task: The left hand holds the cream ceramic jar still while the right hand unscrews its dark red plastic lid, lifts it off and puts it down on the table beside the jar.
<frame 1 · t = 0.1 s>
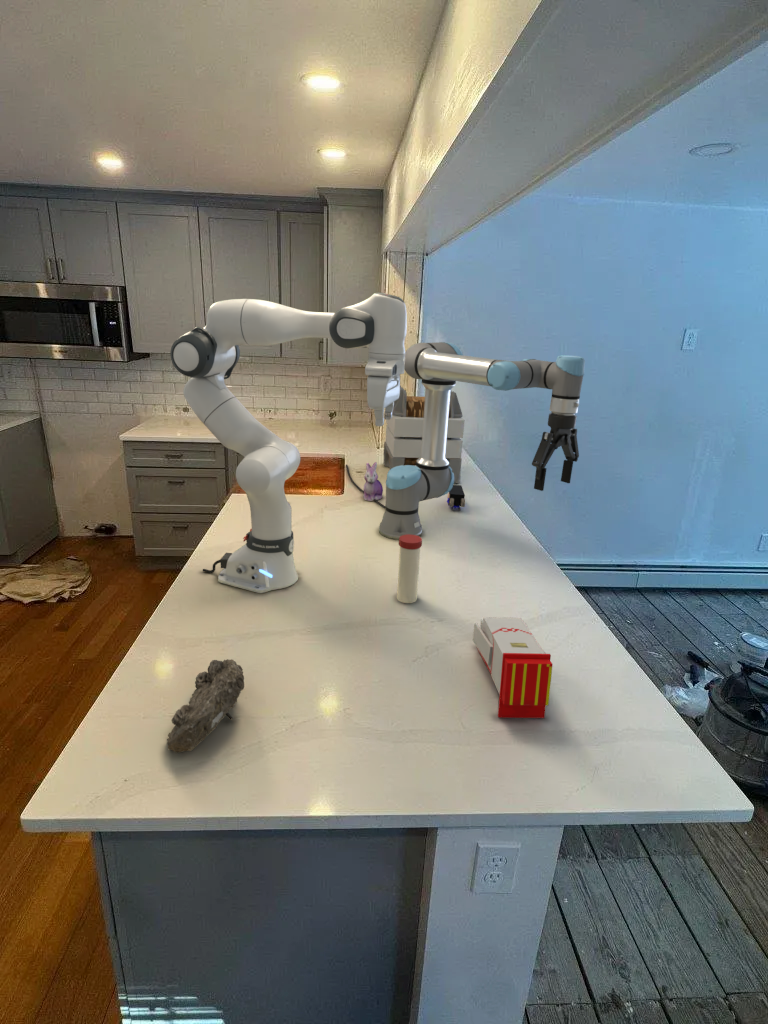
left hand: (383, 422, 141), 48 cm above the counter, tool pointing down, fingers open, 8 cm apart
right hand: (552, 485, 166), 28 cm above the counter, tool pointing down, fingers open, 13 cm apart
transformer: (419, 473, 275), on the counter
jar: (406, 598, 156), on the counter
lid: (410, 539, 150), point 17 cm above the counter, screwed on, not yet turned
fossil: (212, 717, 108), on the counter
toy: (504, 676, 124), on the counter
figurine character: (454, 506, 230), on the counter
figurine: (372, 498, 236), on the counter
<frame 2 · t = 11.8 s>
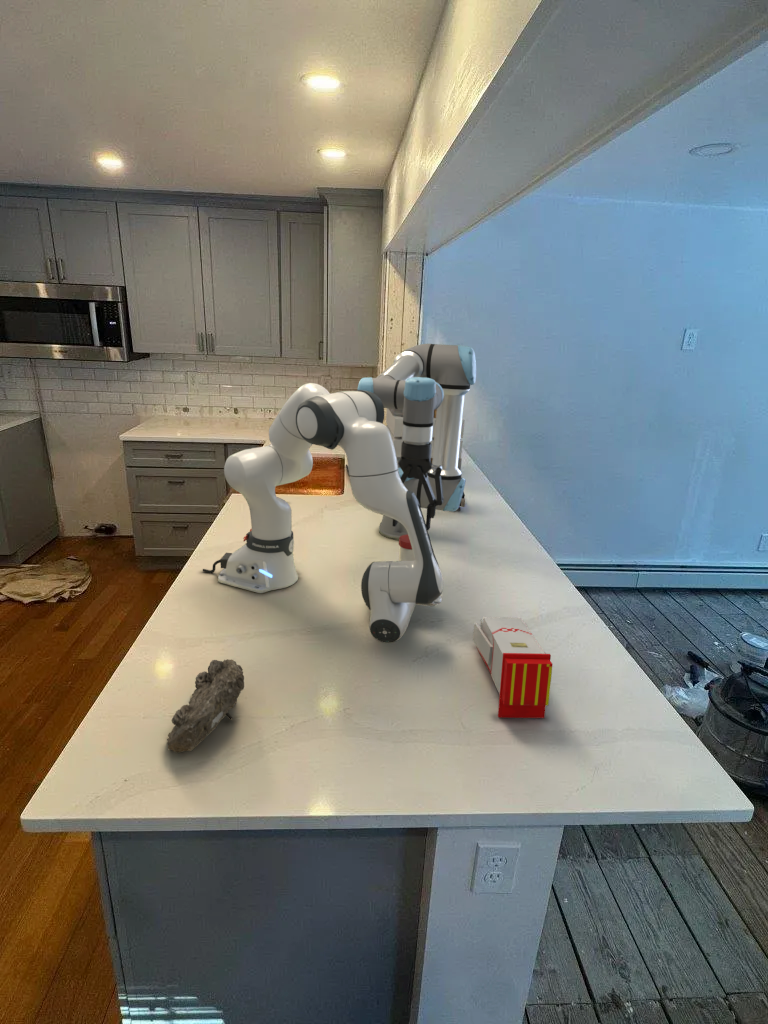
left hand: (408, 575, 154), 6 cm above the counter, tool horizontal, fingers closed on jar, 5 cm apart
right hand: (411, 526, 149), 21 cm above the counter, tool pointing down, fingers open, 8 cm apart
jar: (406, 598, 156), on the counter, touching left hand
everything else where it was.
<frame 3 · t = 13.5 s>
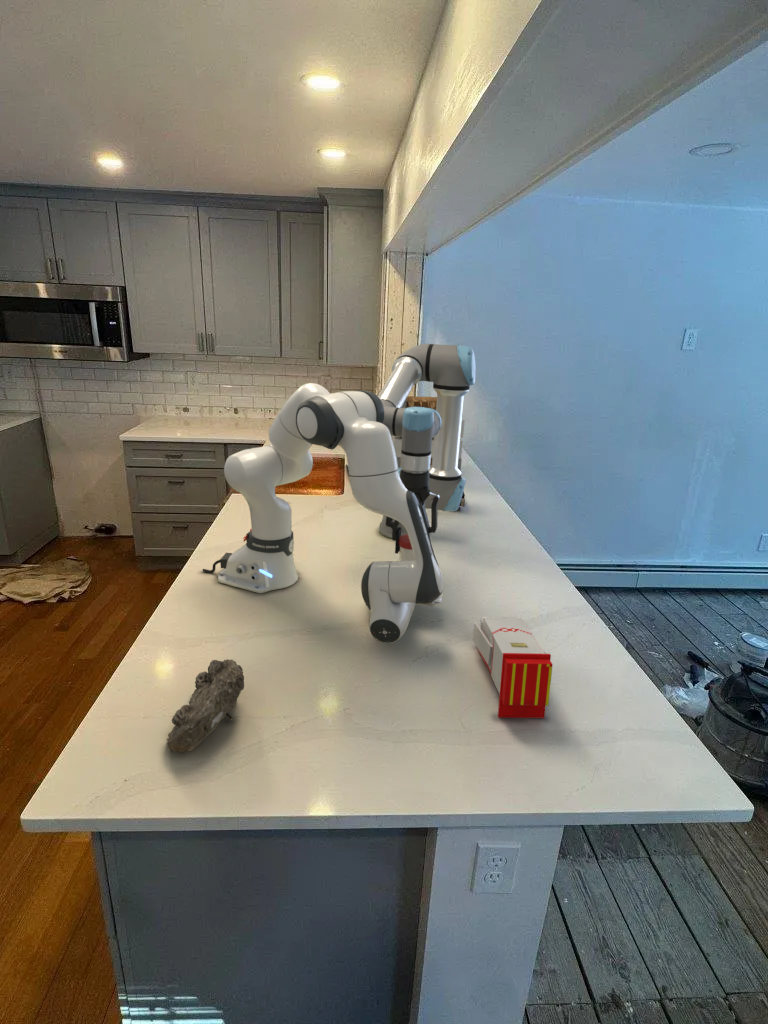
left hand: (408, 575, 154), 6 cm above the counter, tool horizontal, fingers closed on jar, 5 cm apart
right hand: (409, 553, 151), 14 cm above the counter, tool pointing down, fingers closed on lid, 6 cm apart
jar: (406, 598, 156), on the counter, touching left hand
lid: (410, 539, 150), point 17 cm above the counter, screwed on, not yet turned, touching right hand
everything else where it was.
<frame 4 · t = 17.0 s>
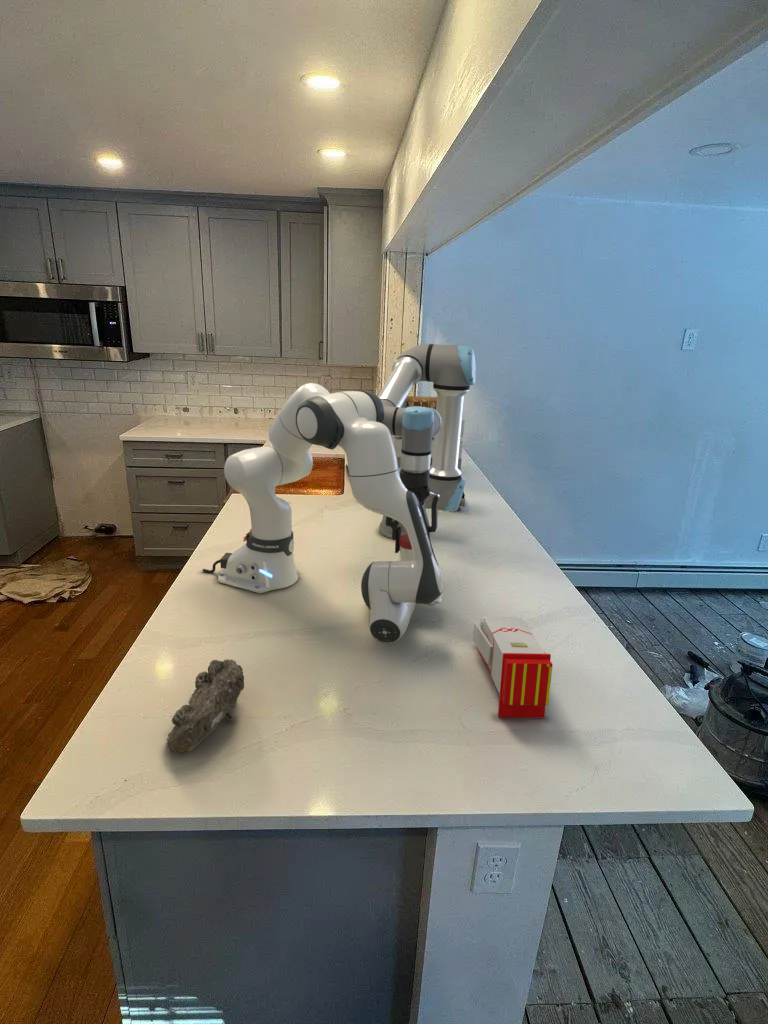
left hand: (408, 575, 154), 6 cm above the counter, tool horizontal, fingers closed on jar, 5 cm apart
right hand: (409, 552, 151), 14 cm above the counter, tool pointing down, fingers closed on lid, 6 cm apart
jar: (406, 598, 156), on the counter, touching left hand
lid: (410, 539, 150), point 18 cm above the counter, turned 118° so far, risen 0.1 cm, still on its thread, touching right hand
everything else where it was.
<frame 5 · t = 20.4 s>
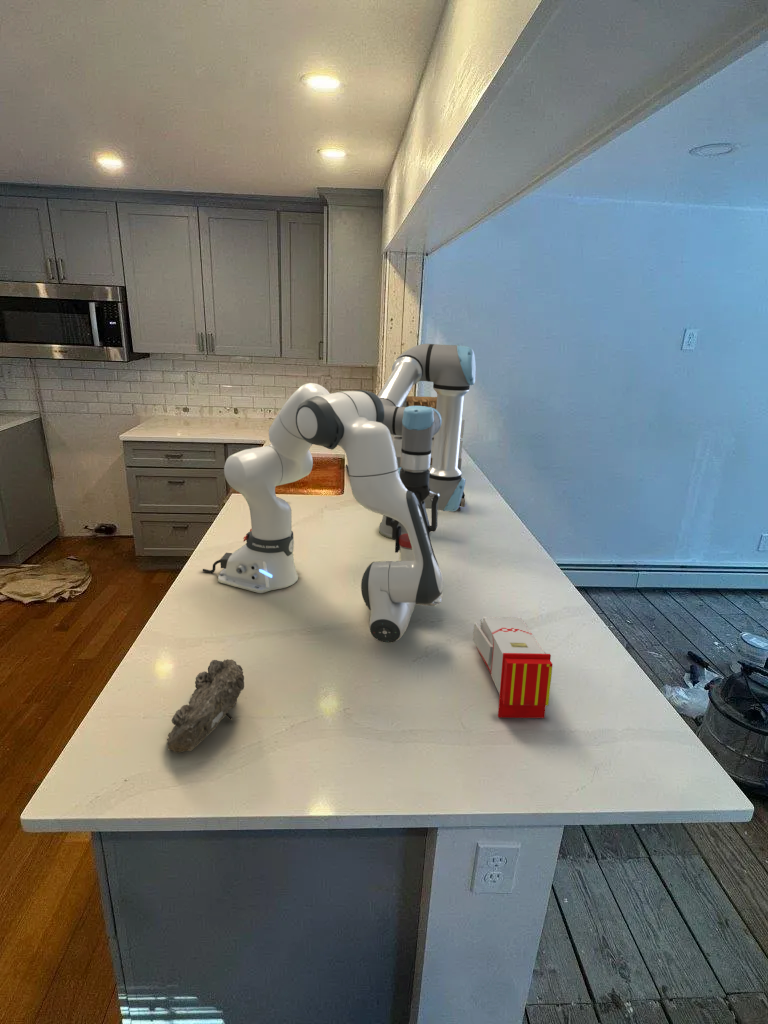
left hand: (408, 575, 154), 6 cm above the counter, tool horizontal, fingers closed on jar, 5 cm apart
right hand: (409, 552, 151), 14 cm above the counter, tool pointing down, fingers closed on lid, 6 cm apart
jar: (406, 598, 156), on the counter, touching left hand
lid: (410, 538, 150), point 18 cm above the counter, turned 236° so far, risen 0.3 cm, still on its thread, touching right hand
everything else where it was.
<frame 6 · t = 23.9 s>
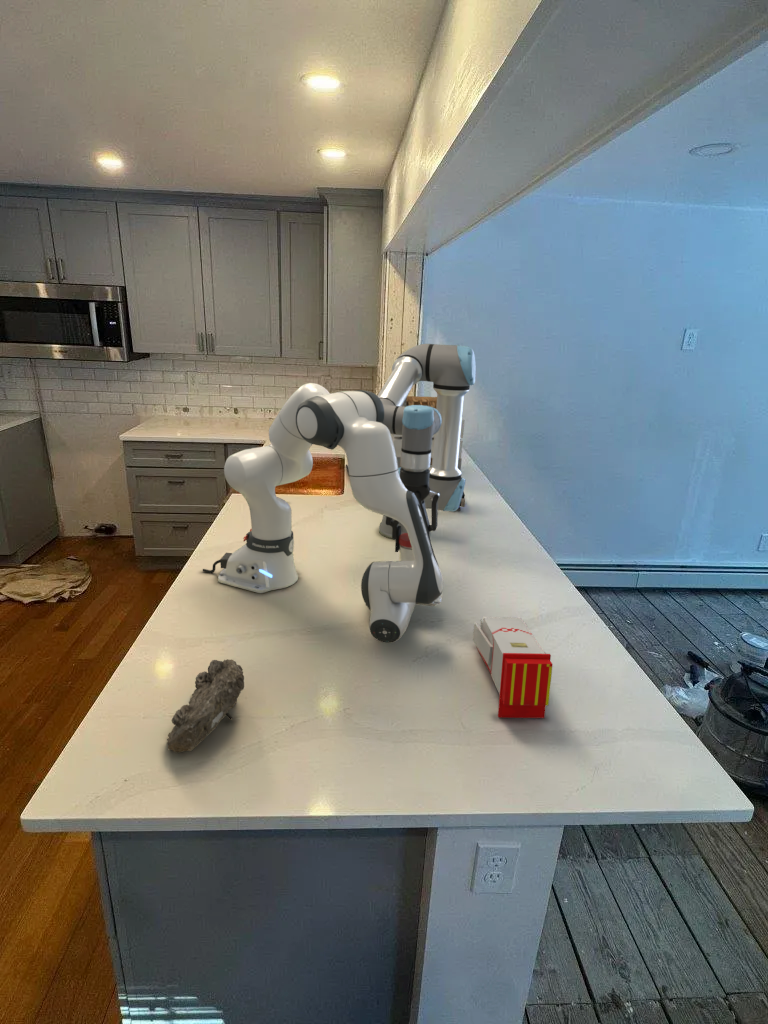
left hand: (408, 575, 154), 6 cm above the counter, tool horizontal, fingers closed on jar, 5 cm apart
right hand: (409, 551, 151), 14 cm above the counter, tool pointing down, fingers closed on lid, 6 cm apart
jar: (406, 598, 156), on the counter, touching left hand
lid: (410, 538, 150), point 18 cm above the counter, turned 353° so far, risen 0.5 cm, still on its thread, touching right hand
everything else where it was.
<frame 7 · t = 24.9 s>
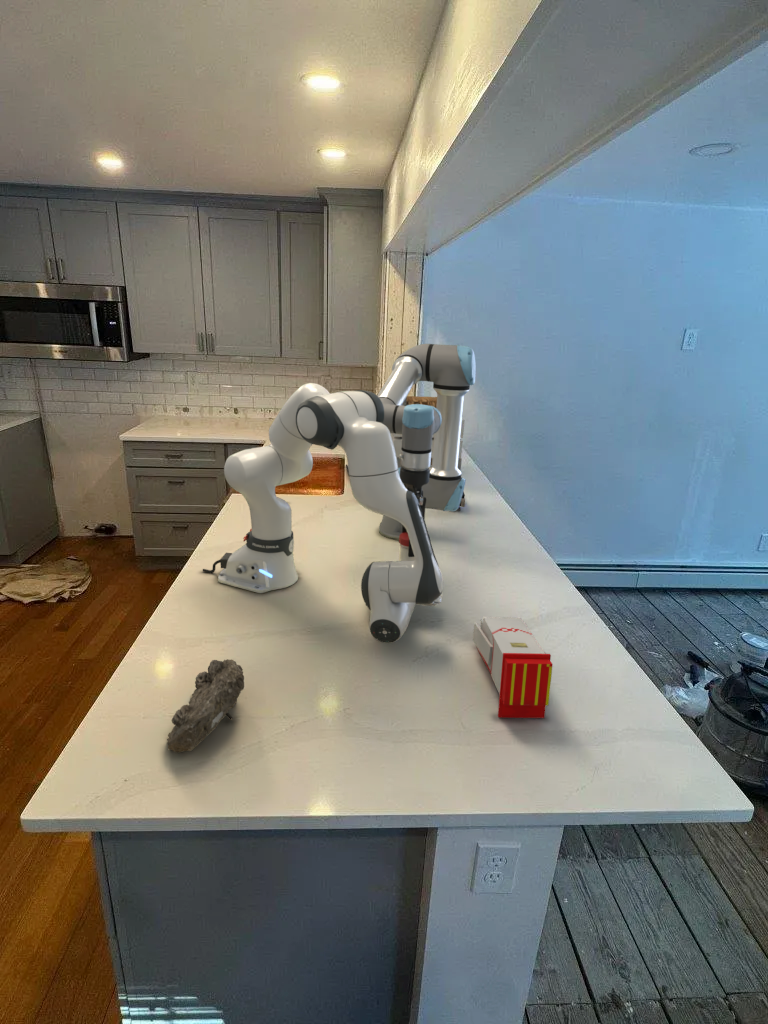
left hand: (408, 575, 154), 6 cm above the counter, tool horizontal, fingers closed on jar, 5 cm apart
right hand: (409, 550, 151), 14 cm above the counter, tool pointing down, fingers closed on lid, 6 cm apart
jar: (406, 598, 156), on the counter, touching left hand
lid: (410, 537, 150), point 18 cm above the counter, off its thread, touching right hand
everything else where it was.
when the right hand's fingers open (0 cm above the counter, at t = 30.5 s): lid stays where it is, point 1 cm above the counter.
when the left hand's fingers open (6 cm above the counter, at t = 31.6 s): jar stays where it is, on the counter.
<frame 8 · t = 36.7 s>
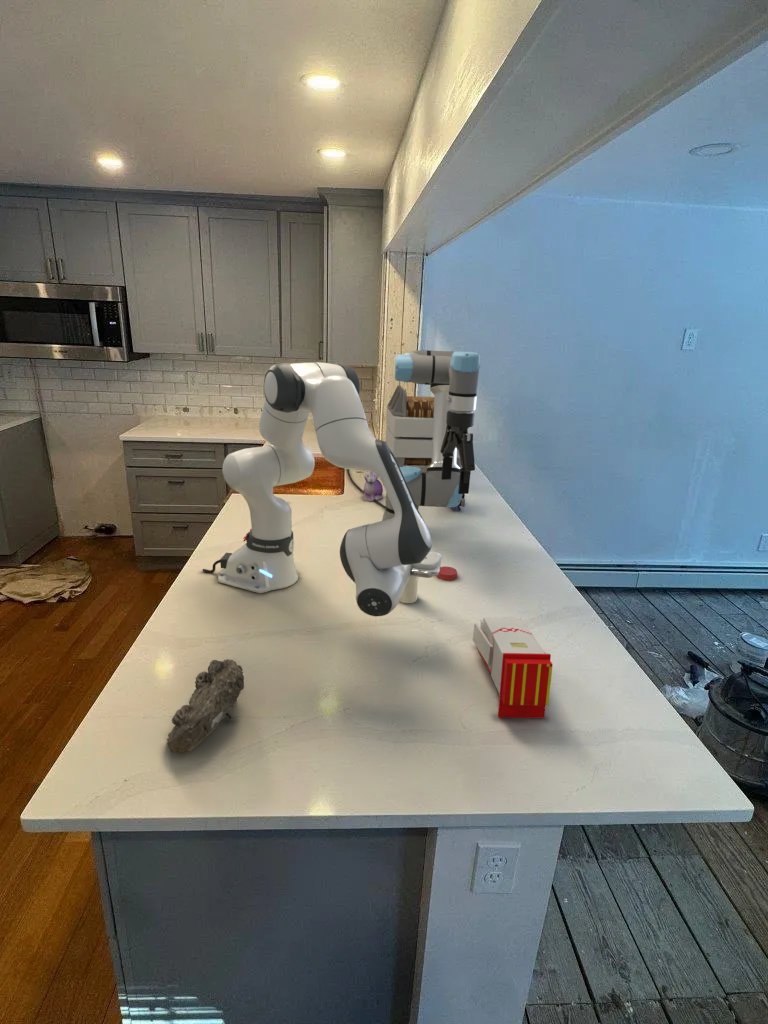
left hand: (402, 546, 138), 20 cm above the counter, tool horizontal, fingers open, 8 cm apart
right hand: (454, 486, 161), 28 cm above the counter, tool pointing down, fingers open, 13 cm apart
jar: (406, 598, 156), on the counter
lid: (447, 571, 169), point 1 cm above the counter, off its thread
everything else where it was.
at the end: lid came off its thread; lid point 1.4 cm above the counter; the left hand is holding nothing; the right hand is holding nothing; jar tilted 0°; jar moved 0.1 cm from its start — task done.
